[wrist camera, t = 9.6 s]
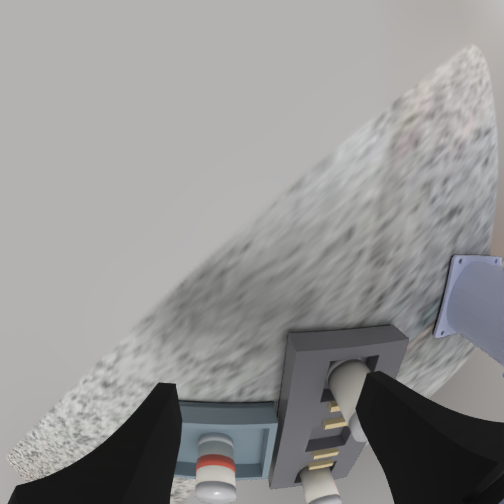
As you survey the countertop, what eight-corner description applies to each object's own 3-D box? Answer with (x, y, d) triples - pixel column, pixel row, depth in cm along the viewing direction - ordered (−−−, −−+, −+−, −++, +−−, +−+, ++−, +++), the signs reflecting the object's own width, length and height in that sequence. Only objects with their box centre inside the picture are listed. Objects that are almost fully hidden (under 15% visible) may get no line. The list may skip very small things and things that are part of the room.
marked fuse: (236, 434, 20) (240, 492, 14) (230, 452, 21) (233, 505, 14) (199, 429, 20) (196, 488, 13) (196, 448, 20) (192, 501, 14)
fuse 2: (365, 349, 18) (406, 402, 12) (356, 381, 19) (389, 435, 13) (327, 353, 18) (362, 414, 12) (320, 386, 19) (347, 446, 13)
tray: (273, 402, 20) (277, 423, 18) (264, 461, 22) (267, 478, 20) (154, 398, 19) (148, 418, 17) (171, 458, 21) (168, 476, 19)
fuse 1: (329, 453, 22) (346, 499, 15) (322, 467, 22) (337, 509, 16) (299, 457, 21) (313, 506, 15) (295, 471, 22) (306, 516, 16)
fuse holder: (393, 324, 19) (413, 342, 16) (340, 462, 24) (347, 480, 21) (288, 332, 19) (298, 356, 16) (267, 473, 23) (270, 493, 20)
